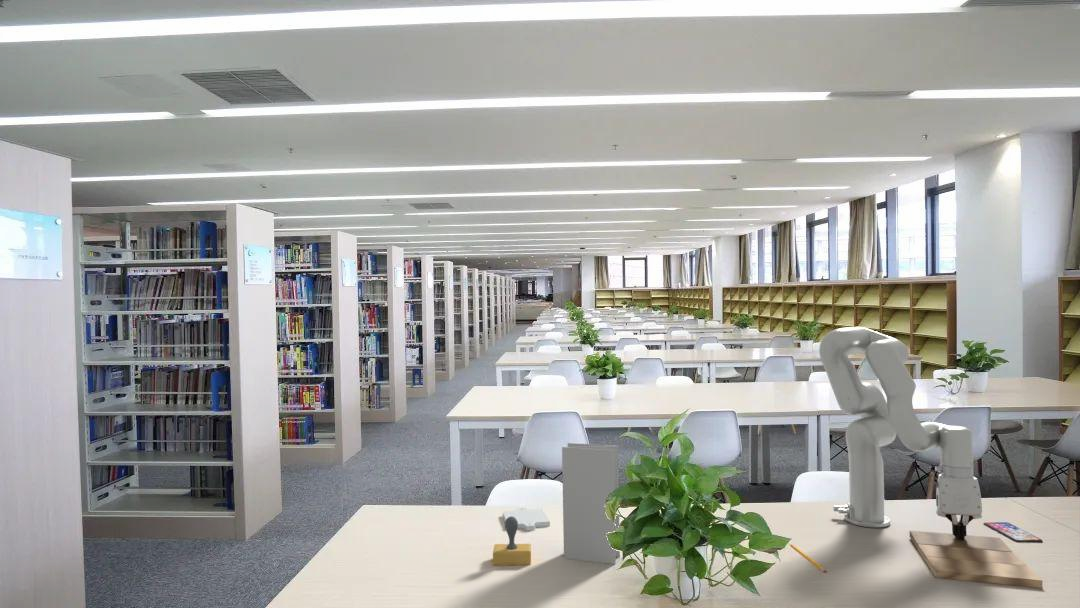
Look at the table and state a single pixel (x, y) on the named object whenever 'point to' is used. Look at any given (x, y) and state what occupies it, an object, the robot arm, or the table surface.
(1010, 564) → the laid floor
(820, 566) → the pencil
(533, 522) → the mounting plate
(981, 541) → the walnut plank
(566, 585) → the table surface
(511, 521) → the rubber stamp
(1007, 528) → the smartphone
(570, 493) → the brochure
